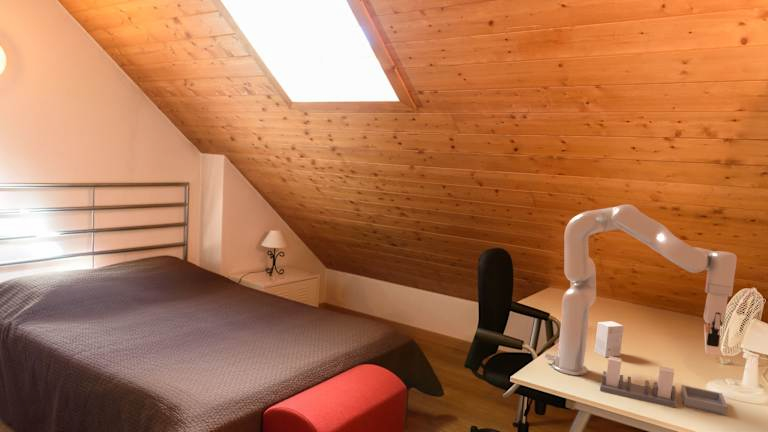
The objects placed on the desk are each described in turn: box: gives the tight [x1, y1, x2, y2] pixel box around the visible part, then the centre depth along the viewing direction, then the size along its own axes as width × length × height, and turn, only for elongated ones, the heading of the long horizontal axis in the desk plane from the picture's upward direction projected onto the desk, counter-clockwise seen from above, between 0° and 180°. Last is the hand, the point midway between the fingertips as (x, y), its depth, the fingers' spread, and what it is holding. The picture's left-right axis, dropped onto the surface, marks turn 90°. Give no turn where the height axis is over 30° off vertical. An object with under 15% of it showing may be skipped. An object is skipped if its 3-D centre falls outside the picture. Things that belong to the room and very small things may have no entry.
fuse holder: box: [599, 356, 677, 408], centre depth 184 cm, size 23×10×10 cm, turn 65°
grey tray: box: [680, 384, 728, 416], centre depth 180 cm, size 12×12×3 cm
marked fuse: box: [703, 323, 722, 356], centre depth 178 cm, size 4×4×9 cm
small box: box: [594, 320, 624, 358], centre depth 223 cm, size 8×6×13 cm
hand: (711, 343), depth 178 cm, fingers closed on marked fuse, 4 cm apart
